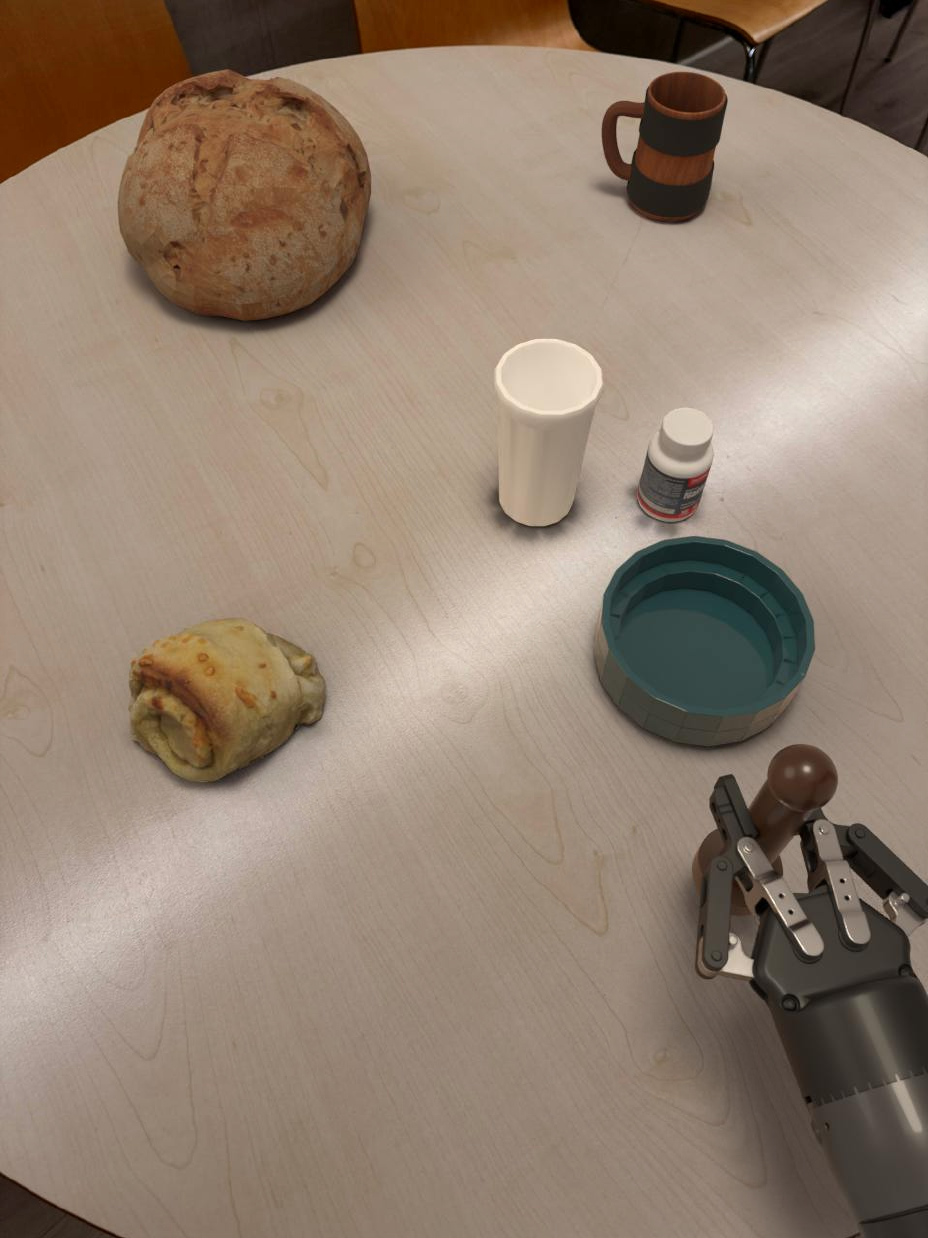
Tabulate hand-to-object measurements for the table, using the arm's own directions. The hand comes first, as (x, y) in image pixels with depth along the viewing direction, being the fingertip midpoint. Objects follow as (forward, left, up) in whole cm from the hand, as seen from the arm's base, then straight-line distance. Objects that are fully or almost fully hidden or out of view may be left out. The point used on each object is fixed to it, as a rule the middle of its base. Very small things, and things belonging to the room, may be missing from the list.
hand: (750, 775), depth 58 cm
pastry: (+25, -25, -14) cm, 38 cm away
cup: (-5, -32, -14) cm, 36 cm away
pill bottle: (-15, -27, -14) cm, 34 cm away
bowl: (-8, -13, -14) cm, 21 cm away
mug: (-36, -62, -14) cm, 73 cm away
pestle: (+1, +3, -9) cm, 9 cm away
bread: (+4, -74, -14) cm, 76 cm away
